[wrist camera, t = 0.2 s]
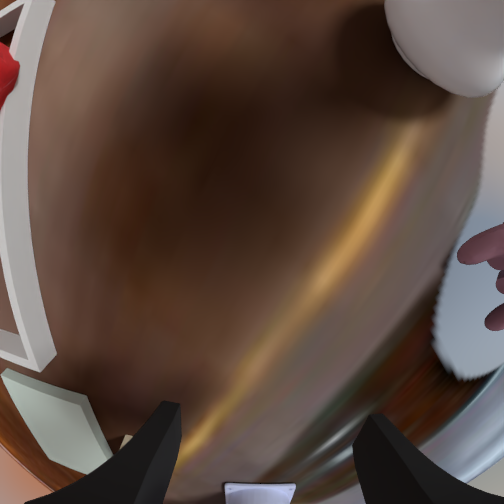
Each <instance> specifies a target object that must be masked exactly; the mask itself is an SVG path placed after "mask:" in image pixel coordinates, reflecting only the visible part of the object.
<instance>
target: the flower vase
mask: <svg viewBox="0 0 504 504" xmlns="http://www.w3.org/2000/svg"><path fill="white" fill-rule="evenodd" d="M384 10H385V15H386V19H387V23H388V27H389V29H390V31H391V35H392V40H393V42H394V44H395V47H396V49H397V51H398V52H399V54H400V55H401V57H402V58H403V60H404V61H405V62H406V63H407V64H408V65H409V66H410V67H411V68H412V69H413V70H414V71H416V72H417V73H418V74H419V75H421V76H423V77H425V78H427V79H428V80H430V81H431V82H433V83H434V84H436V85H438V86H439V87H441V88H443V89H445V90H446V91H448V92H450V93H453V94H456V95H460V96H463V97H467V98H474V97H483V96H486V95H487V94H489V93H491V92H493V91H495V90H496V89H497V88H498V87H499V86H500V85H501V84H502V82H503V81H504V0H385V3H384Z"/></svg>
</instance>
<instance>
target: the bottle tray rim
mask: <svg viewBox="0 0 504 504" xmlns="http://www.w3.org/2000/svg"><path fill="white" fill-rule="evenodd" d="M54 5H55V1H54V0H17V1H15V2H14V3H12V4H10V5H9V6H7V7H6V8H4V9H3V10H1V11H0V37H2V36H4V35H5V34H7V33H9V32H10V31H12V30H14V29H15V32H14V35H13V39H12V42H11V46H10V50H9V52H10V54H11V56H12V57H13V59H14V60H16V61H19V63H20V70H19V75H18V78H17V80H16V83H15V86H14V89H13V91H12V92H11V93H10V94H9V95H8V96H7V97H6V100H5V102H4V104H3V106H2V108H1V109H0V255H1V261H2V266H3V272H4V277H5V281H6V286H7V290H8V295H9V299H10V303H11V306H12V310H13V314H14V317H15V321H16V324H17V327H18V331H19V334H20V335H17V334H14V333H11V332H8V331H5V330H2V329H0V357H1V358H4V359H6V360H8V361H11V362H13V363H16V364H18V365H21V366H24V367H26V368H29V369H32V370H35V371H38V372H41V371H42V370H43V369H44V368H45V367H46V366H47V365H48V364H49V362H50V361H51V360H52V359H53V358H54V357H55V356H56V355H57V352H56V349H55V346H54V343H53V340H52V336H51V333H50V329H49V326H48V322H47V318H46V314H45V310H44V306H43V302H42V297H41V293H40V288H39V283H38V278H37V272H36V266H35V260H34V253H33V246H32V238H31V229H30V218H29V204H28V139H29V125H30V114H31V105H32V98H33V91H34V84H35V78H36V73H37V68H38V63H39V58H40V54H41V49H42V45H43V41H44V37H45V34H46V30H47V27H48V23H49V20H50V17H51V14H52V11H53V8H54Z"/></svg>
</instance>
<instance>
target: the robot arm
mask: <svg viewBox="0 0 504 504" xmlns="http://www.w3.org/2000/svg"><path fill="white" fill-rule="evenodd" d="M181 437H182V434H181V411H180V404H179V403H174V402H169V401H162V402H161V403H160V405H159V406H158V407H157V409H156V410H155V411H154V413H153V414H152V415H151V417H150V418H149V419H148V420H147V421H146V423H145V424H144V425H143V426H142V427H141V428H140V429H139V431H138V432H137V433H136V434H135V435H134V436H133V437H132V438H131V439H130V440H129V441H128V442H127V443H126V444H125V445H124V446H123V447H122V448H121V449H120V450H119V451H117V452H116V453H115V454H114V455H113V456H112V457H111V458H109V459H108V460H107V461H106V462H104V463H103V464H102V465H100V466H99V467H98V468H96V469H95V470H93V471H92V472H90V473H89V474H87V475H86V476H84V477H83V478H81V479H79V480H78V481H76V482H74V483H72V484H70V485H68V486H66V487H64V488H62V489H60V490H58V491H55V492H53V493H51V494H48V495H45V496H42V497H40V498H36V499H33V500H30V501H27V502H25V503H24V504H163V500H164V497H165V494H166V491H167V488H168V485H169V482H170V479H171V476H172V473H173V470H174V467H175V464H176V461H177V457H178V452H179V447H180V442H181ZM352 447H353V455H354V462H355V468H356V471H357V475H358V478H359V482H360V485H361V489H362V492H363V496H364V499H365V503H366V504H504V497H501V496H498V495H494V494H490V493H487V492H484V491H482V490H479V489H476V488H474V487H472V486H470V485H467V484H466V483H464V482H462V481H460V480H458V479H456V478H455V477H453V476H451V475H450V474H448V473H447V472H446V471H444V470H443V469H441V468H440V467H438V466H437V465H436V464H434V463H433V462H432V461H431V460H430V459H428V458H427V457H426V456H425V455H424V454H423V453H422V452H420V451H419V450H418V449H417V448H416V447H415V446H414V445H413V444H412V443H411V442H410V441H409V440H408V439H407V438H406V437H405V436H404V435H403V434H402V433H401V432H400V431H399V430H398V429H397V428H396V427H395V426H394V425H393V424H392V423H391V422H390V421H389V420H388V419H387V418H386V417H385V416H384V415H383V414H372V415H369V416H368V418H367V420H366V422H365V424H364V425H363V427H362V429H361V431H360V433H359V434H358V436H357V438H356V440H355V441H354V443H353V445H352ZM295 488H296V485H295V484H239V483H226V484H225V497H226V504H290V501H291V499H292V496H293V493H294V491H295Z"/></svg>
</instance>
